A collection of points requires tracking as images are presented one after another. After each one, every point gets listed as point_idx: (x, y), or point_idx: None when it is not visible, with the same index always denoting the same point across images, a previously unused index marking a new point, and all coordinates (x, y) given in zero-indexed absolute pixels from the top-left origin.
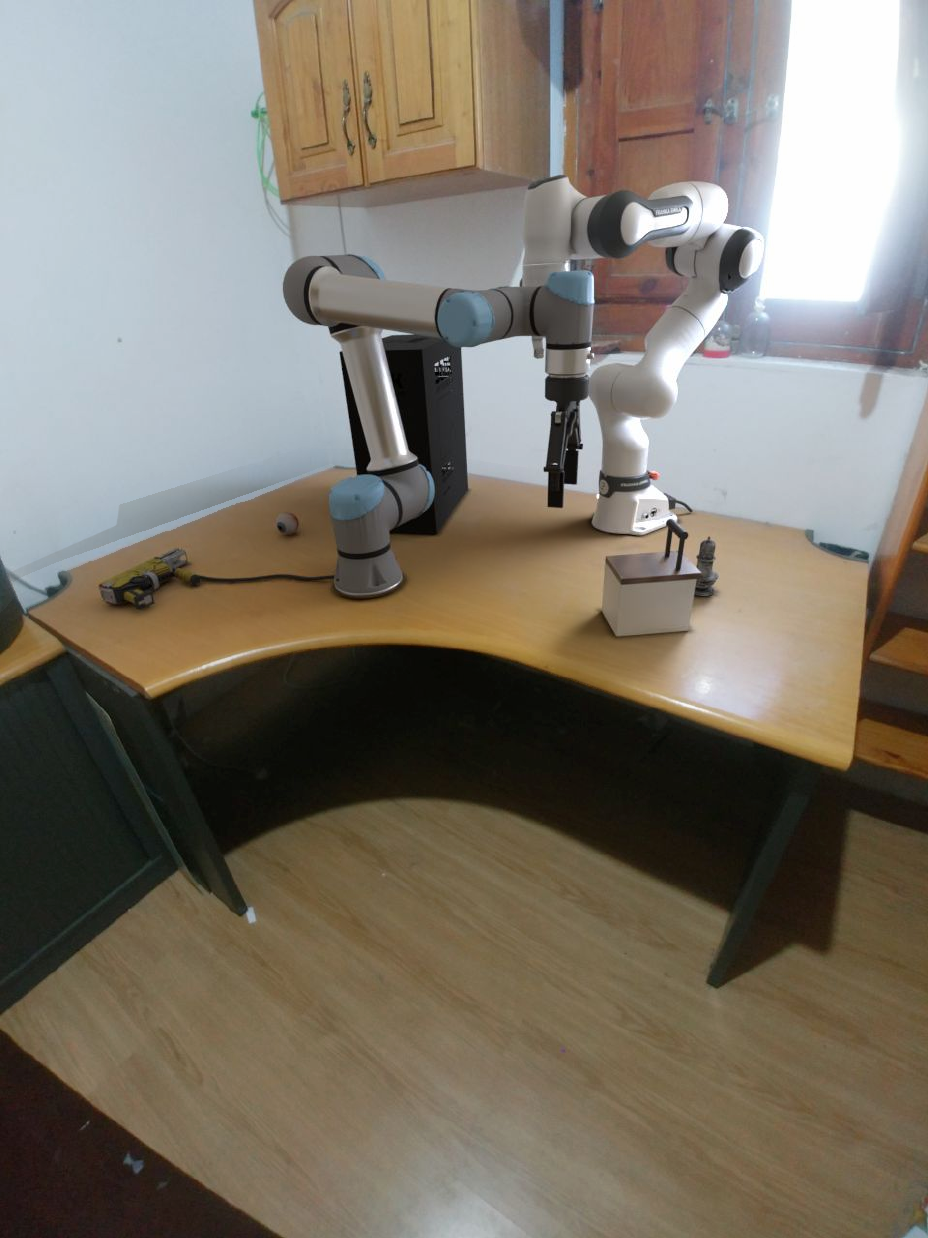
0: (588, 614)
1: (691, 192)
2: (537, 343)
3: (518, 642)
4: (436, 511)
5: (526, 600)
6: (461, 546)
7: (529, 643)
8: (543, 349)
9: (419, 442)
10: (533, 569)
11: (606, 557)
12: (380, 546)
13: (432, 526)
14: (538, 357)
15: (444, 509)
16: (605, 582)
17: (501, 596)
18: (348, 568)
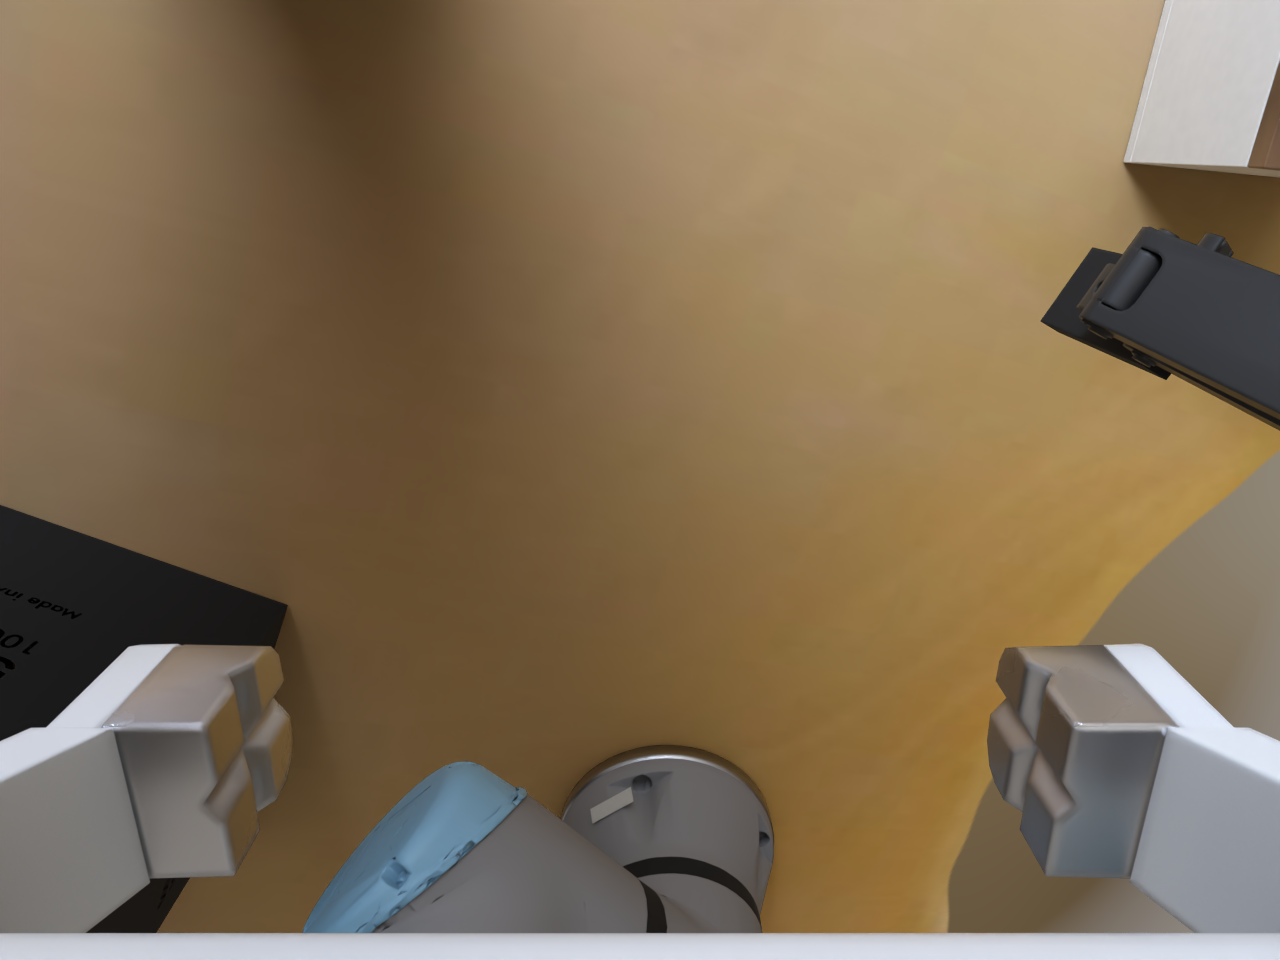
0: (1125, 218)
1: None
2: (19, 891)
3: (1185, 485)
4: (227, 644)
5: (946, 398)
6: (425, 530)
7: (1205, 456)
8: (211, 727)
9: None
10: (713, 310)
11: (1274, 169)
12: (746, 909)
13: (271, 634)
14: (284, 727)
15: (117, 582)
16: (1217, 167)
17: (887, 471)
18: None
